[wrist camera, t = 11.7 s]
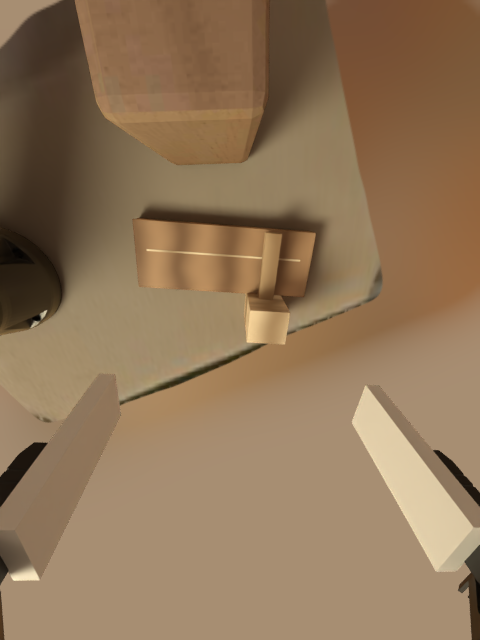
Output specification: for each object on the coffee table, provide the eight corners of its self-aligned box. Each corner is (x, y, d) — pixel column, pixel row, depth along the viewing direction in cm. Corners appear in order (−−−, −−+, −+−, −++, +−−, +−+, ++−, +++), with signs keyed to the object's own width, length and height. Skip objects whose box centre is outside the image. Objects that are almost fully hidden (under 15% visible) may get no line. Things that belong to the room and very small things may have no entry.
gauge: (243, 316, 41) (246, 344, 33) (251, 228, 36) (257, 236, 28) (274, 318, 42) (284, 346, 33) (286, 231, 36) (302, 239, 28)
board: (144, 281, 38) (138, 286, 36) (138, 218, 35) (132, 219, 32) (299, 291, 40) (304, 297, 38) (310, 231, 36) (316, 233, 34)
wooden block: (247, 59, 28) (275, -200, 10) (249, 163, 32) (270, 112, 14) (157, 61, 28) (22, -195, 10) (170, 166, 32) (92, 118, 14)
